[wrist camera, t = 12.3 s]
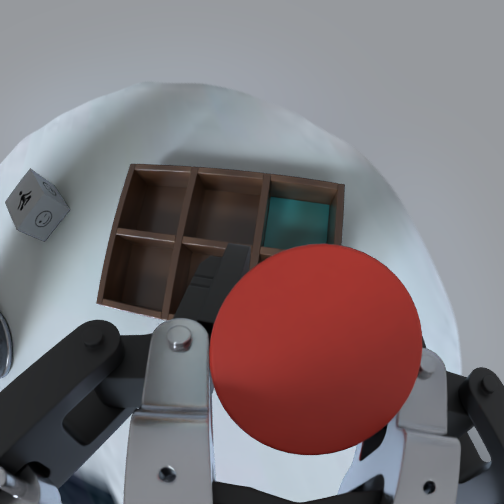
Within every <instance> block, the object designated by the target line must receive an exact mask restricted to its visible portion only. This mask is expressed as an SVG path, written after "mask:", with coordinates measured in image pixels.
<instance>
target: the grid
mask: <svg viewBox="0 0 504 504" xmlns="http://www.w3.org/2000/svg"><path fill="white" fill-rule="evenodd" d="M344 191H345V185H344V184H338V183H332V182H326V181H320V180H313V179H306V178H299V177H292V176H284V175H276V174H267V173H259V172H249V171H240V170H229V169H218V168H205V167H190V166H173V165H151V164H130V167H129V171H128V174H127V177H126V180H125V183H124V186H123V190H122V193H121V196H120V200H119V203H118V207H117V211H116V214H115V218H114V222H113V226H112V230H111V234H110V238H109V242H108V246H107V251H106V255H105V260H104V265H103V270H102V275H101V280H100V285H99V291H98V297H97V304H99V305H103V306H106V307H110V308H114V309H118V310H122V311H126V312H130V313H134V314H138V315H143V316H147V317H151V318H156V319H161V320H165V321H168V320H171V319H173V317H174V315H175V313H176V311H177V309H178V307H179V305H180V302H181V300H182V298H183V296H184V294H185V292H186V290H187V288H188V286H189V285H190V282H191V280H192V278H193V276H194V274H195V272H196V270H197V268H198V266H199V264H200V263H201V262H203V261H204V260H205V259H207V258H208V257H209V256H216V257H222V256H223V254H224V252H225V249H226V247H227V245H228V243H233V244H240V245H247V246H251V254H250V266H249V271H250V270H251V269H252V268H253V267H255V266H256V265H257V264H259V263H260V262H262V261H264V260H265V259H267V258H268V257H270V256H273V255H275V254H277V253H279V252H281V251H284V250H287V249H290V248H293V247H297V246H303V245H308V244H334V245H341V243H342V229H343V213H344Z"/></svg>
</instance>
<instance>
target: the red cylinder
mask: <svg viewBox="0 0 504 504" xmlns="http://www.w3.org/2000/svg"><path fill="white" fill-rule="evenodd" d="M421 357H422V331H421V324H420V320H419V316H418V313H417V309H416V307H415V305H414V302H413V300H412V298H411V296H410V294H409V293H408V291H407V289H406V288H405V286H404V285H403V284H402V282H401V281H400V280H399V279H398V278H397V276H396V275H395V274H394V273H393V272H392V271H390V270H389V269H388V268H387V267H386V266H385V265H383V264H382V263H381V262H379V261H378V260H377V259H375V258H373V257H371V256H369V255H367V254H366V253H364V252H361V251H358V250H356V249H353V248H350V247H345V246H341V245H334V244H308V245H303V246H297V247H293V248H290V249H287V250H284V251H281V252H279V253H277V254H275V255H273V256H270V257H268V258H267V259H265V260H264V261H262V262H260V263H259V264H257V265H256V266H255V267H253V268H252V269H251V270H250V271H248V272H247V273H246V274H245V275H244V276H243V277H242V278H241V279H240V280H239V281H238V282H237V283H236V284H235V286H234V287H233V288H232V290H231V291H230V293H229V294H228V295H227V297H226V298H225V300H224V302H223V304H222V306H221V308H220V309H219V312H218V314H217V317H216V320H215V322H214V325H213V329H212V334H211V338H210V348H209V362H210V371H211V377H212V382H213V385H214V388H215V391H216V393H217V396H218V398H219V400H220V402H221V404H222V406H223V407H224V409H225V410H226V412H227V413H228V415H229V416H230V417H231V419H232V420H233V421H234V422H235V423H236V424H237V425H238V426H239V427H240V428H241V429H242V430H243V431H244V432H246V433H247V434H248V435H249V436H251V437H252V438H254V439H255V440H257V441H259V442H261V443H262V444H264V445H267V446H269V447H271V448H274V449H276V450H280V451H283V452H287V453H292V454H299V455H321V454H329V453H334V452H338V451H342V450H345V449H348V448H350V447H353V446H355V445H358V444H359V443H361V442H363V441H365V440H367V439H369V438H370V437H372V436H373V435H374V434H376V433H377V432H379V431H380V430H381V429H382V428H383V427H385V426H386V425H387V424H388V423H389V422H390V421H391V420H392V419H393V418H394V417H395V415H396V414H397V413H398V412H399V411H400V409H401V408H402V406H403V405H404V403H405V402H406V400H407V399H408V397H409V395H410V393H411V391H412V389H413V387H414V384H415V381H416V379H417V376H418V372H419V368H420V364H421Z"/></svg>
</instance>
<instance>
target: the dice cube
mask: <svg viewBox="0 0 504 504" xmlns="http://www.w3.org/2000/svg"><path fill="white" fill-rule="evenodd" d="M5 204H6V206H7V208H8V211H9V213H10V216H11V218H12V220H13V222H14V225H15V227H16V229H17V230H18V231H20V232H23V233H25V234H27V235H30V236H32V237H34V238H37V239H39V240H42V241H44V242H45V241H46V239H47V238H48V237H49V235H50V234H51V233H52V232H53V230H54V229H55V228H56V226H57V225H58V224H59V223H60V221H61V220H62V219H63V218H64V217H65V215H66V214H67V213H68V212H69V211H70V208H69V207H68V205H67V204H66V202H65V201H64V199H63V198H62V196H61V195H60V193H59V192H58V190H57V189H56V187H55V186H54V185H53V184H52V183H50V182H49V181H47V180H46V179H45V178H43V177H42V176H40V175H39V174H37V173H36V172H35V171H33V170H32V169H31V168H30V169H29V171H28V172H27V173H26V174H25V176H24V177H23V178H22V180H21V181H20V182H19V184H18V185H17V186H16V188H15V189H14V190H13V192H12V193H11V194H10V196H9V197H8V199H7V200H6V201H5Z"/></svg>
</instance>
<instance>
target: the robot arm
mask: <svg viewBox="0 0 504 504" xmlns="http://www.w3.org/2000/svg"><path fill="white" fill-rule="evenodd" d="M250 254H251V246H247V245H240V244H233V243H228V245H227V247H226V249H225V252H224V254H223V256H222V257H216V256H209V257H208V258H207V259H205V260H204V261H203V262H201V263H200V264H199V266H198V268H197V270H196V272H195V274H194V276H193V278H192V280H191V282H190V285H189V286H188V288H187V290H186V292H185V294H184V296H183V298H182V300H181V302H180V305H179V307H178V309H177V311H176V313H175V315H174V317H173V319H171V320H168V321H165V322H163V323H162V324H160V325H159V326H158V327H157V328H156V329H155V330H154V332H153V333H152V334H147V335H120V334H119V331H118V329H117V328H116V326H114V325H113V324H112V323H110V322H108V321H104V320H92V321H89V322H86V323H84V324H82V325H80V326H79V327H78V328H76V329H75V330H74V331H73V332H71V333H70V334H69V335H68V336H66V337H65V338H64V339H63V340H61V341H60V342H59V343H58V344H56V345H55V346H54V347H53V348H52V349H50V350H49V351H48V352H47V353H45V354H44V355H43V356H42V357H41V358H39V359H38V360H37V361H36V362H35V363H33V364H32V365H31V366H30V367H29V368H28V369H26V370H25V371H24V372H23V373H22V374H21V375H19V376H18V377H17V378H16V379H15V380H14V381H12V382H11V383H10V384H9V385H8V386H7V387H6V388H4V389H3V390H2V391H1V392H0V504H62V502H61V497H60V494H59V491H58V489H59V488H60V487H61V486H62V485H63V484H64V483H65V482H66V481H67V480H68V479H69V478H70V477H71V476H72V475H73V474H74V473H75V472H76V471H77V470H78V469H79V468H80V467H81V466H82V465H83V464H84V463H85V462H86V461H87V460H88V459H89V458H90V457H91V456H92V455H93V454H94V452H95V451H96V450H97V449H98V448H99V447H100V446H101V445H102V444H103V443H104V442H105V441H106V440H107V439H108V438H109V437H110V436H111V435H112V434H113V433H114V432H115V431H116V430H117V429H118V428H119V427H120V426H121V425H122V424H123V423H124V422H125V421H126V419H127V418H128V417H129V416H130V415H131V414H132V413H133V414H132V417H131V421H130V428H129V437H128V447H127V457H126V469H125V484H124V503H123V504H504V386H503V384H502V382H501V381H500V380H499V378H498V377H497V376H496V374H495V373H494V372H492V371H491V370H489V369H487V368H482V367H480V368H476V369H474V370H473V371H472V372H471V374H470V375H469V376H468V377H464V376H461V375H457V374H454V373H451V372H448V371H446V368H445V365H444V363H443V361H442V360H441V358H440V357H439V356H438V355H437V354H436V353H434V352H433V351H431V350H429V349H426V346H425V343H424V339H423V336H422V357H421V364H420V368H419V372H418V376H417V379H416V381H415V384H414V387H413V389H412V391H411V393H410V395H409V397H408V399H407V400H406V402H405V403H404V405H403V406H402V408H401V409H400V411H399V412H398V413H397V414H396V415H395V417H394V418H393V419H392V420H391V421H390V422H389V423H388V424H387V425H386V426H385V427H383V428H382V429H381V430H380V431H379V432H377V433H376V434H374V435H373V436H372V437H370V438H369V439H367V440H365V441H363V442H361V443H359V444H358V445H357V447H356V451H355V455H354V458H353V462H352V464H351V466H350V468H349V470H348V471H347V473H346V474H345V476H344V478H343V480H342V483H341V485H340V488H339V491H338V494H337V495H335V496H331V497H327V498H322V499H318V500H313V501H308V502H301V503H299V502H293V501H290V500H286V499H283V498H280V497H277V496H274V495H271V494H268V493H265V492H262V491H259V490H256V489H254V488H251V487H245V486H239V485H233V484H227V483H222V482H216V472H215V458H214V441H213V415H212V393H213V390H214V385H213V382H212V377H211V371H210V362H209V348H210V338H211V334H212V329H213V325H214V322H215V320H216V317H217V314H218V312H219V309H220V308H221V306H222V304H223V302H224V300H225V298H226V297H227V295H228V294H229V293H230V291H231V290H232V288H233V287H234V286H235V284H236V283H237V282H238V281H239V280H240V279H241V278H242V277H243V276H244V275H245V274H246V273H247V272H248V271H249V266H250ZM386 267H387V266H386ZM11 363H12V342H11V336H10V332H9V328H8V326H7V323H6V321H5V319H4V317H3V316H2V314H1V313H0V378H3V377H5V376H6V375H7V374H8V372H9V370H10V367H11ZM137 408H139V409H137ZM473 426H475V428H476V430H477V431H478V433H479V435H480V437H481V439H482V440H483V443H484V444H485V446H486V448H487V450H488V452H489V454H490V456H491V462H484V461H482V459H481V458H480V456H479V454H478V452H477V450H476V448H475V446H474V444H473V443H472V441H471V439H470V437H469V435H468V433H467V431H469V430H470V429H471V428H472V427H473Z"/></svg>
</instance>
